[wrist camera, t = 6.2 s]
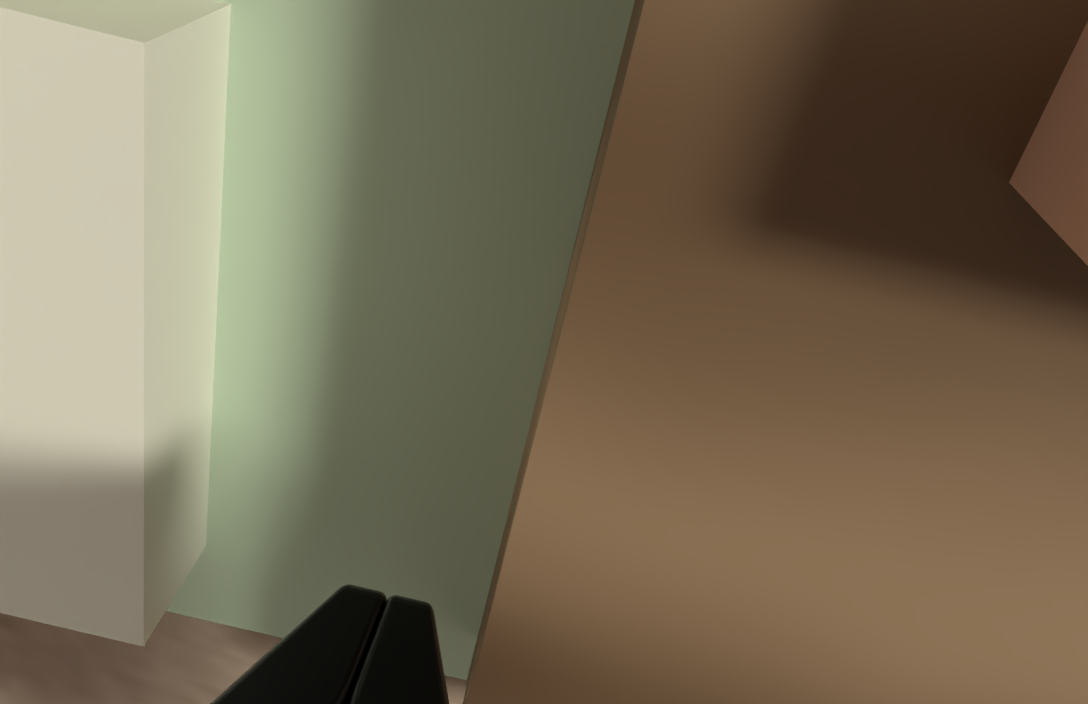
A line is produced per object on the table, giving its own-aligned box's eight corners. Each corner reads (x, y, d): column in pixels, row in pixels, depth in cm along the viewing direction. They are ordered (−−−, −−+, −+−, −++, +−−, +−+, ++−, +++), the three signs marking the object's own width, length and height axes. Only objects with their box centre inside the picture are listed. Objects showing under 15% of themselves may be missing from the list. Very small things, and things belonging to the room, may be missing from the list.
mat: (470, 665, 15) (466, 681, 15) (-73, 540, 15) (-86, 553, 15) (733, -399, 8) (735, -406, 8) (-274, -649, 8) (-304, -664, 8)
